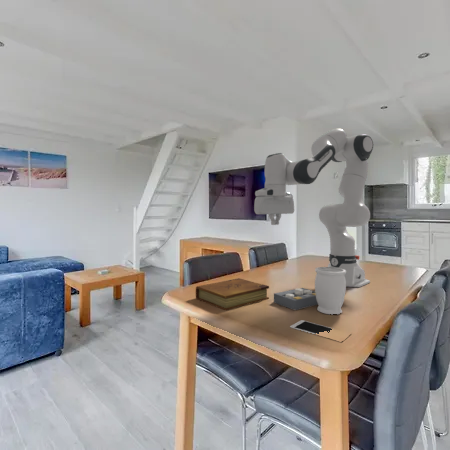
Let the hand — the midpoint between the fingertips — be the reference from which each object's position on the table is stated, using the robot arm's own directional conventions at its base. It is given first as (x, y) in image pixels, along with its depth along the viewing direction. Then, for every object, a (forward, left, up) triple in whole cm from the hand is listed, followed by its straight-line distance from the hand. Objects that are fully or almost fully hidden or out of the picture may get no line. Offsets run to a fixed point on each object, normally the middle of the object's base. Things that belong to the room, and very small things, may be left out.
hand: (275, 224), depth 129 cm
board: (+1, +15, -30) cm, 33 cm away
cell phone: (+17, +37, -30) cm, 51 cm away
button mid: (+1, +15, -27) cm, 31 cm away
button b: (-4, +15, -29) cm, 33 cm away
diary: (+20, -3, -30) cm, 36 cm away
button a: (+6, +15, -29) cm, 33 cm away
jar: (-1, +28, -30) cm, 41 cm away
